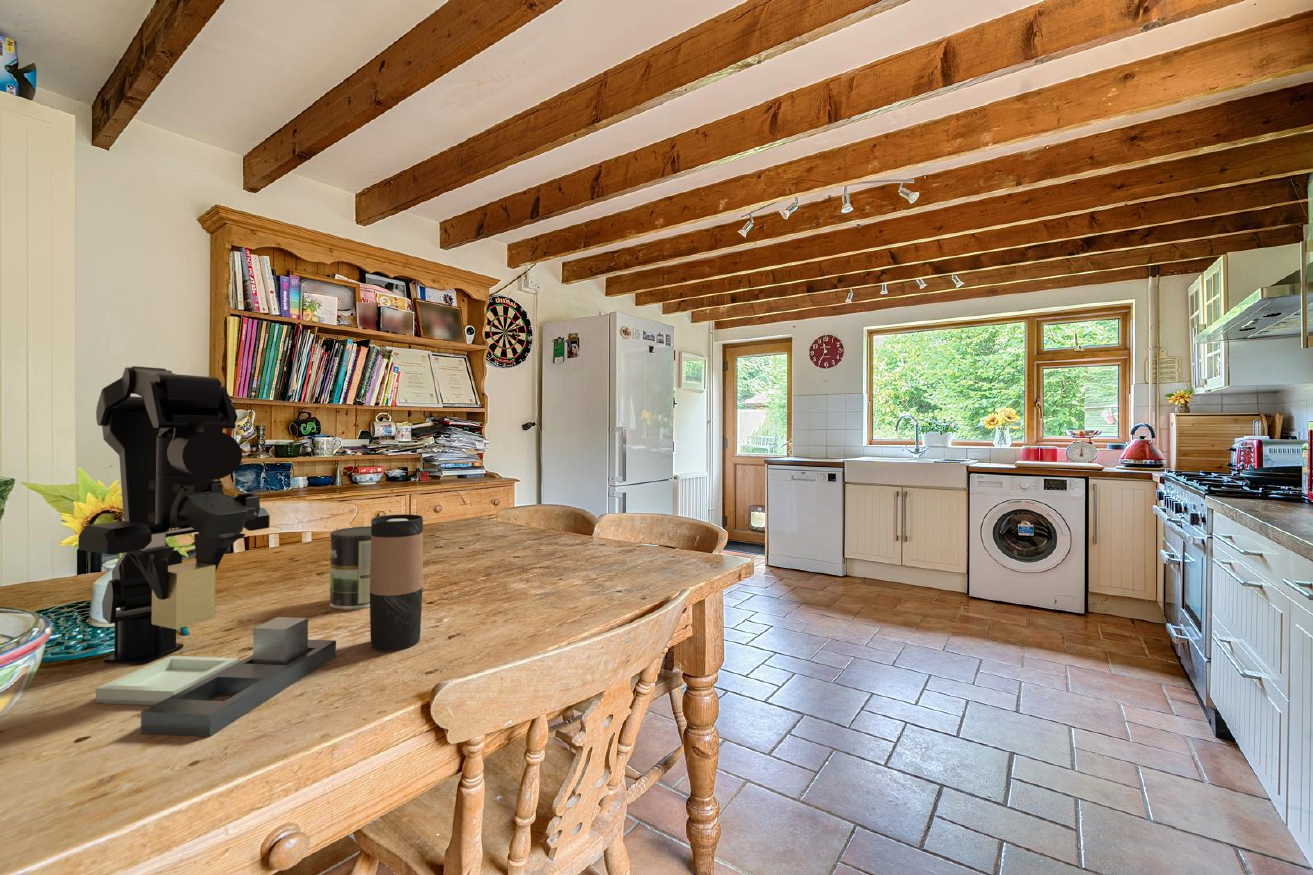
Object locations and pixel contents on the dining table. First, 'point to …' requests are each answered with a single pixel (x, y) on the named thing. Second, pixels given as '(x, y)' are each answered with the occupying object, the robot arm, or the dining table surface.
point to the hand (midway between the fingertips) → (183, 593)
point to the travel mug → (396, 581)
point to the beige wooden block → (186, 596)
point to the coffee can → (350, 568)
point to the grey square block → (280, 641)
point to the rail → (230, 694)
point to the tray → (161, 680)
